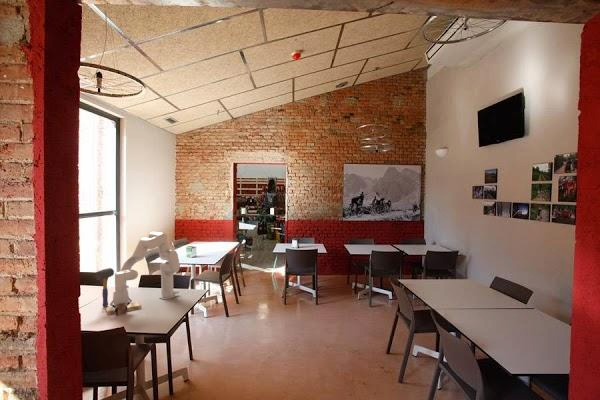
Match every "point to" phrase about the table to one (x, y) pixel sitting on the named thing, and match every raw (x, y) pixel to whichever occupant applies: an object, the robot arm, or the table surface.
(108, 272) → the rubber mallet
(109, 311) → the board
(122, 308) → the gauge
